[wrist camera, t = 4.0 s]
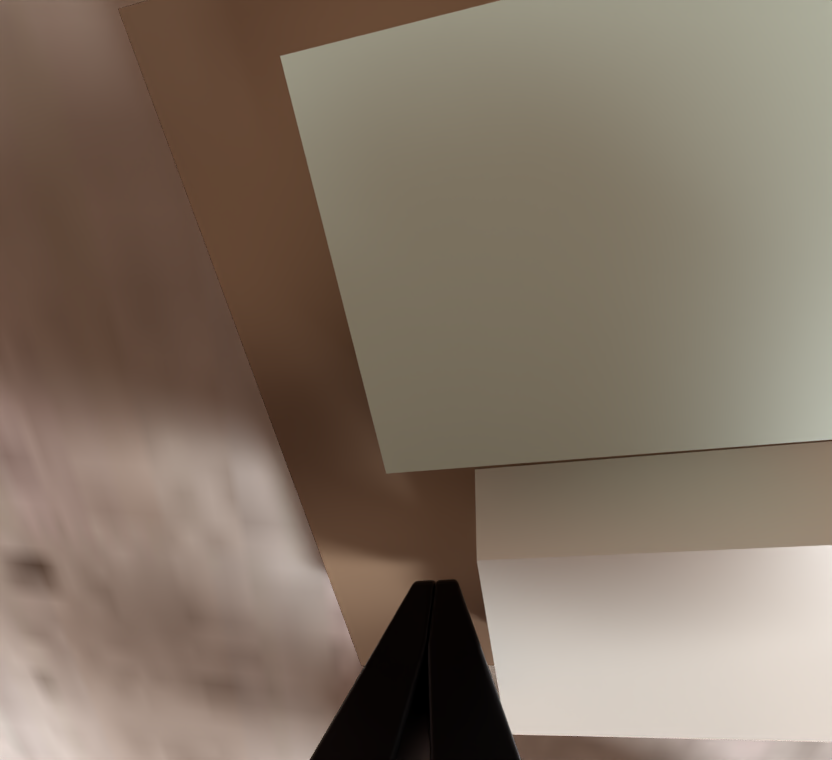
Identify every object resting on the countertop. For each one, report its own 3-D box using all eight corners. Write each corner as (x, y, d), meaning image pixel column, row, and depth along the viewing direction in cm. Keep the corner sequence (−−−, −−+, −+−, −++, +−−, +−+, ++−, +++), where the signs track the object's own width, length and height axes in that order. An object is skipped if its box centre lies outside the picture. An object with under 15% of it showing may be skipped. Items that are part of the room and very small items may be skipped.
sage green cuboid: (814, 353, 6) (948, 430, 5) (406, 397, 7) (386, 473, 6) (905, -45, 4) (1192, -177, 3) (340, 88, 5) (280, 56, 4)
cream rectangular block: (806, 623, 9) (893, 743, 7) (499, 629, 10) (505, 734, 8) (863, 438, 7) (1002, 538, 5) (475, 469, 8) (476, 560, 6)
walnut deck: (955, 577, 10) (1057, 665, 9) (376, 594, 13) (361, 665, 11) (1375, -266, 5) (1917, -519, 3) (205, 45, 7) (118, 9, 5)
